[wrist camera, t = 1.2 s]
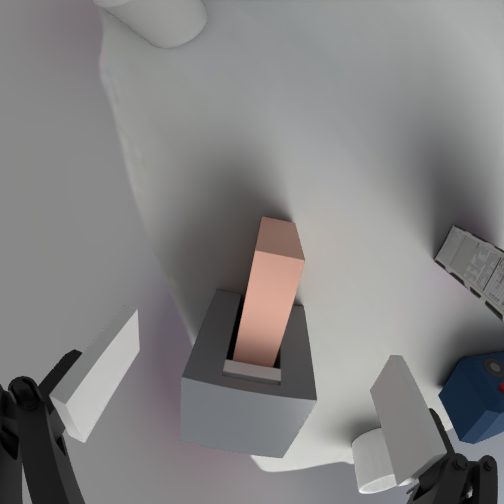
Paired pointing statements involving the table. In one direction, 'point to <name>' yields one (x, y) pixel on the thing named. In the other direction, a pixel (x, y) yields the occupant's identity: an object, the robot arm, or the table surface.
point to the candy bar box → (475, 266)
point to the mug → (372, 462)
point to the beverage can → (159, 19)
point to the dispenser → (246, 387)
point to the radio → (476, 397)
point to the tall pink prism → (269, 292)
